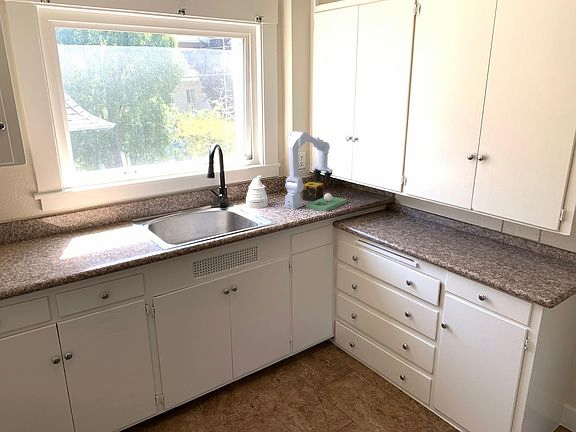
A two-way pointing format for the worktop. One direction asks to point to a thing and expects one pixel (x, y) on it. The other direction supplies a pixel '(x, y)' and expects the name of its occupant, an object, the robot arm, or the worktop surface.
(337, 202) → the green mat
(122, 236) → the worktop surface
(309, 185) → the yellow cube with hole
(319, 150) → the robot arm
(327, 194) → the ball
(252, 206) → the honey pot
